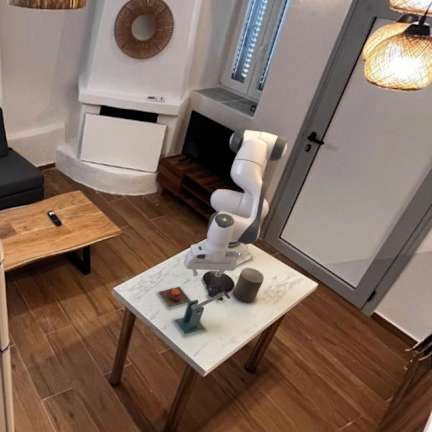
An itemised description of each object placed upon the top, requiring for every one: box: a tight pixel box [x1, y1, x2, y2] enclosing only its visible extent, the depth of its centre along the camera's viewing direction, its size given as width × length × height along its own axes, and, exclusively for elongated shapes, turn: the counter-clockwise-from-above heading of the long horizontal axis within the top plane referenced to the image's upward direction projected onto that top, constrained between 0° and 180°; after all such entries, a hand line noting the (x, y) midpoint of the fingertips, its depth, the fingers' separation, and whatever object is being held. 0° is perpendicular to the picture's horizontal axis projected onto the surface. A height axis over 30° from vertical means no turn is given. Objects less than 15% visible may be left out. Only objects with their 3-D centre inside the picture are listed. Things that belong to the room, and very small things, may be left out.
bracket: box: [174, 299, 206, 335], centre depth 170 cm, size 10×8×14 cm
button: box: [171, 288, 180, 297], centre depth 185 cm, size 4×4×2 cm
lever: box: [191, 287, 231, 311], centre depth 167 cm, size 16×6×2 cm, turn 105°
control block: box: [158, 286, 191, 307], centre depth 186 cm, size 11×9×4 cm
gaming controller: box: [206, 283, 224, 302], centre depth 189 cm, size 10×5×6 cm
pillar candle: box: [232, 267, 265, 304], centre depth 184 cm, size 10×10×15 cm
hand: (205, 275), depth 168 cm, fingers open, 8 cm apart
